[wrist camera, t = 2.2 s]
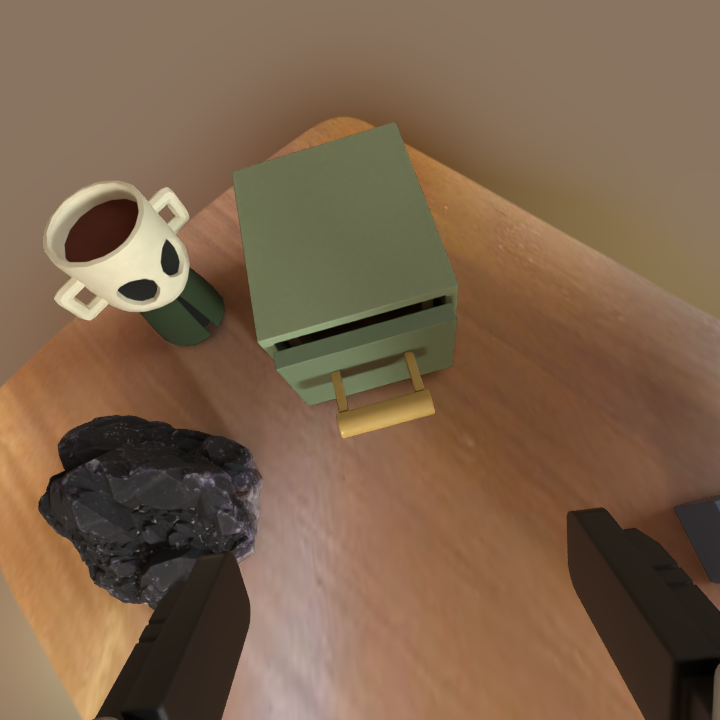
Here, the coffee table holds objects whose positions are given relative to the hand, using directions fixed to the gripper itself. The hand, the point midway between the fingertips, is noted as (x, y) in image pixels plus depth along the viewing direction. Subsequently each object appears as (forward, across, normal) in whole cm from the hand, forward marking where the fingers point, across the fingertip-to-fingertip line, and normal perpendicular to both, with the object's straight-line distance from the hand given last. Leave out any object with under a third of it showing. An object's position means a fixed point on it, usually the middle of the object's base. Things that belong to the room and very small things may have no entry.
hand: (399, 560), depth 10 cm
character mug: (+30, +17, -2) cm, 35 cm away
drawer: (+26, +1, +1) cm, 26 cm away
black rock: (+19, +17, +11) cm, 28 cm away
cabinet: (+29, +2, -2) cm, 29 cm away
